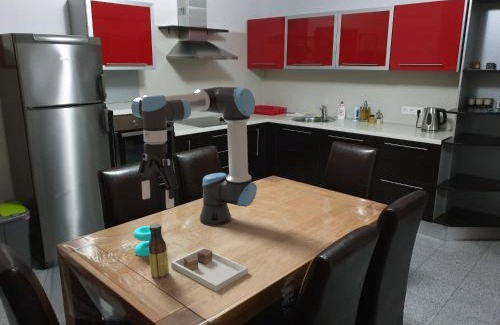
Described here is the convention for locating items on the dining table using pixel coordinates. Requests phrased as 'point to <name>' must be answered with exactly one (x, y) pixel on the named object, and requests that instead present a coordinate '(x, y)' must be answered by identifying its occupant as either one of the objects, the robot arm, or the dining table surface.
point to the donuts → (142, 235)
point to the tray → (212, 271)
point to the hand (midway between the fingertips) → (157, 202)
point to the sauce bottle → (158, 253)
